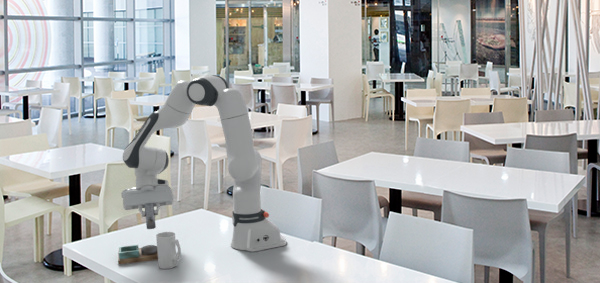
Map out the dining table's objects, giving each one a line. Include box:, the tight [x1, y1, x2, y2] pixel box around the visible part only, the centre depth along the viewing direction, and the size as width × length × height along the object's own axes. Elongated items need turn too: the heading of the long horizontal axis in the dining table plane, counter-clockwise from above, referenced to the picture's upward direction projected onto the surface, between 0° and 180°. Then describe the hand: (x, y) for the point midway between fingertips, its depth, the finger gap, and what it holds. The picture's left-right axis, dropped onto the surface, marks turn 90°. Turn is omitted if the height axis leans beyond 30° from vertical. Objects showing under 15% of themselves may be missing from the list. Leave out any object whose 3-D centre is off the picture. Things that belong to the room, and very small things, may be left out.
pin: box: [144, 203, 157, 230], centre depth 231 cm, size 4×4×10 cm
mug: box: [155, 231, 182, 270], centre depth 208 cm, size 10×7×12 cm, turn 60°
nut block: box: [117, 244, 158, 265], centre depth 219 cm, size 15×12×4 cm
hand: (150, 215), depth 230 cm, fingers closed on pin, 4 cm apart
